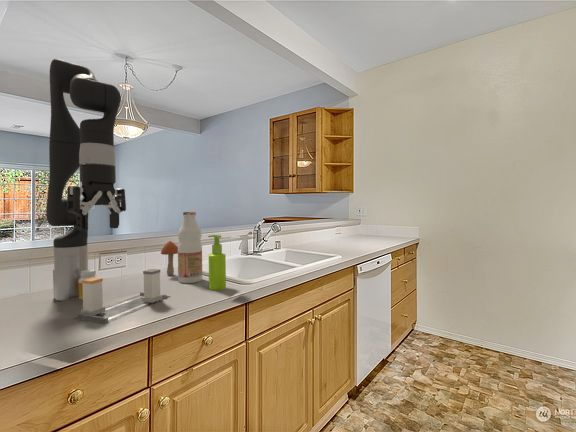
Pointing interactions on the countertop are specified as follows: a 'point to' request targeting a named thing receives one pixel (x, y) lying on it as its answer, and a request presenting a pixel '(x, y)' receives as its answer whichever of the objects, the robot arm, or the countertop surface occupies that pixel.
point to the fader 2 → (151, 285)
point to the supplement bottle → (85, 275)
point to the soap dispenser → (217, 266)
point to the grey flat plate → (119, 309)
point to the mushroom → (170, 255)
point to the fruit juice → (189, 250)
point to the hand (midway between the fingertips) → (99, 229)
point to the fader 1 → (92, 296)
